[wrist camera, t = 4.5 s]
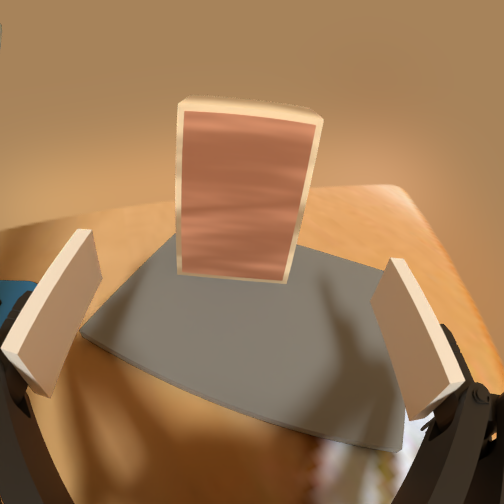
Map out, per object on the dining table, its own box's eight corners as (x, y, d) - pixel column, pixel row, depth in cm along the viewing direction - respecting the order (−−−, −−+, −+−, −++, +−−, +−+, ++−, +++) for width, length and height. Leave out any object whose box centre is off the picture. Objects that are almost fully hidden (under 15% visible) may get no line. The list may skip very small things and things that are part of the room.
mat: (81, 336, 17) (79, 330, 16) (194, 220, 29) (195, 215, 29) (396, 452, 13) (401, 449, 12) (399, 281, 25) (402, 276, 25)
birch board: (286, 285, 22) (324, 120, 15) (177, 275, 22) (177, 103, 15) (281, 251, 26) (310, 107, 19) (185, 243, 25) (190, 94, 18)
